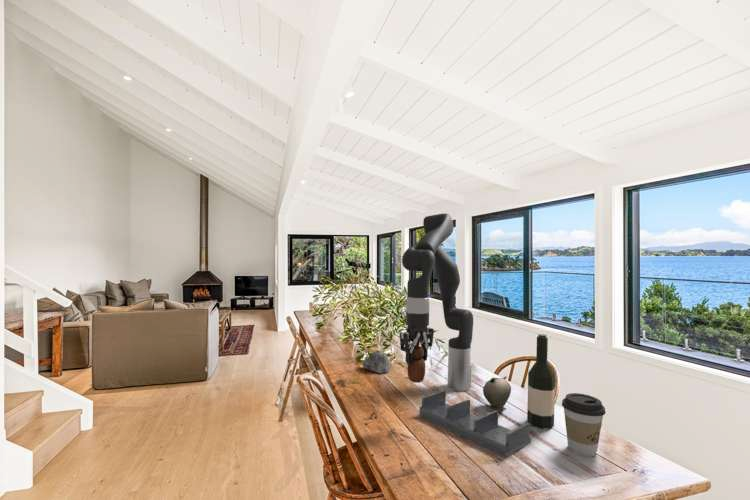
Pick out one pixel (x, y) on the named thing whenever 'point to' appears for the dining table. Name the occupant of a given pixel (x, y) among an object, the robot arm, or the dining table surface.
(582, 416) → the coffee cup
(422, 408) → the grey shelf
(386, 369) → the mineral rock
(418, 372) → the wooden figurine
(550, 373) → the wine bottle
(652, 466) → the dining table surface
